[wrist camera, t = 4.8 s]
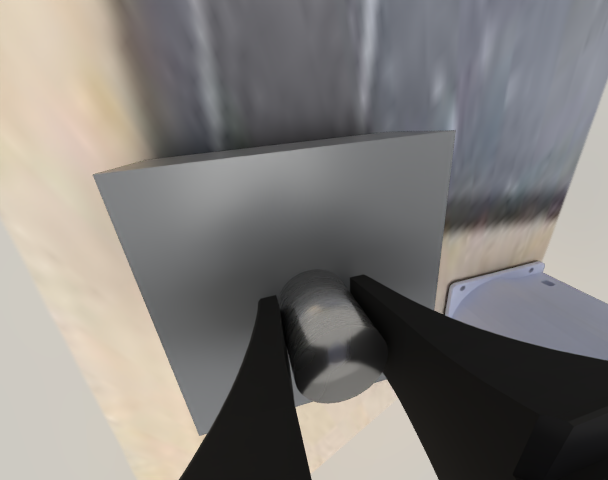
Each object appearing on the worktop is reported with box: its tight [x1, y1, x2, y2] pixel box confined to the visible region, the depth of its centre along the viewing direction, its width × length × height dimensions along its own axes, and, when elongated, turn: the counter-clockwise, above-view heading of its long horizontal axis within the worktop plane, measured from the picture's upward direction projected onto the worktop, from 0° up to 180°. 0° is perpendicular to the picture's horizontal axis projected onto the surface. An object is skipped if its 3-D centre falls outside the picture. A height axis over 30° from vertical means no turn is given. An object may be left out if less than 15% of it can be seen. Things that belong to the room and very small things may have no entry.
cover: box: [93, 130, 456, 436], centre depth 12 cm, size 12×12×8 cm
